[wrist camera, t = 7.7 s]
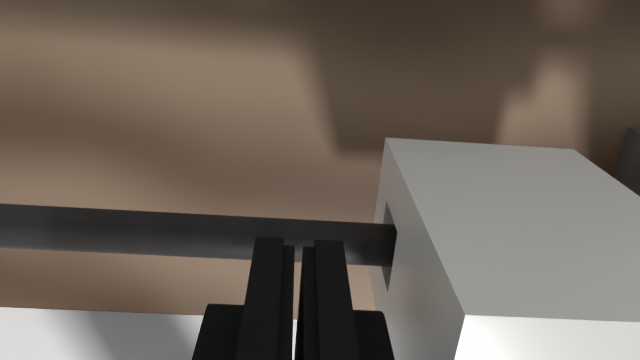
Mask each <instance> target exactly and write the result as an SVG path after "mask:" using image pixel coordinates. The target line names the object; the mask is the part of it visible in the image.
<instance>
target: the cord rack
mask: <svg viewBox="0 0 640 360" xmlns="http://www.w3.org/2000/svg"><path fill="white" fill-rule="evenodd" d="M385 137H386V138H402V139H418V140H434V141H450V142H466V143H481V144H497V145H513V146H529V147H545V148H561V149H574V150H575V151H577V152H578V153H580V154H581V155H582V156H584V157H585V158H587V159H588V160H589V161H591V162H592V163H594V164H595V165H596V166H598V167H599V168H601V169H602V170H603V171H605V172H606V173H608V174H609V175H610V176H612V177H613V178H615V179H616V180H617V181H619V182H620V183H622V184H623V185H624V186H626V187H627V188H629V189H630V190H631V191H633V192H634V193H636V194H637V195H638V196H640V0H0V307H14V308H38V309H62V310H86V311H110V312H134V313H158V314H182V315H204V313H205V310H206V307H207V305H208V304H209V303H210V304H233V305H244V302H245V297H246V291H247V285H248V279H249V273H250V267H251V261H252V255H253V249H254V243H255V238H256V236H265V237H284V245H294V246H295V262H294V299H293V319H297V318H298V305H299V292H300V278H301V265H302V252H303V246H314V240H315V239H323V240H342V241H343V243H344V250H345V257H346V264H347V271H348V278H349V285H350V292H351V299H352V306H353V310H371V311H376V307H375V302H374V297H373V292H372V287H371V282H370V277H369V272H368V266H386V267H392V264H393V258H394V251H395V245H396V239H397V230H396V227H395V224H379V223H374V218H375V211H376V203H377V196H378V188H379V181H380V174H381V166H382V159H383V151H384V144H385Z"/></svg>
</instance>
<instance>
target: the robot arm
mask: <svg viewBox="0 0 640 360" xmlns="http://www.w3.org/2000/svg"><path fill="white" fill-rule="evenodd" d="M294 262H295V246H294V245H284V237H265V236H256V238H255V243H254V249H253V255H252V261H251V267H250V273H249V279H248V285H247V291H246V297H245V302H244V305H233V304H210V303H209V304H208V305H207V307H206V310H205V313H204V317H203V321H202V324H201V328H200V332H199V335H198V339H197V343H196V346H195V350H194V353H193V357H192V360H292V336H293V299H294ZM295 360H395V358H394V354H393V350H392V345H391V341H390V337H389V332H388V328H387V323H386V319H385V316H384V313H383V312H382V311H371V310H353V306H352V299H351V292H350V285H349V278H348V271H347V264H346V257H345V250H344V243H343V241H342V240H323V239H315V240H314V246H303V252H302V265H301V278H300V292H299V305H298V318H297V332H296V345H295Z"/></svg>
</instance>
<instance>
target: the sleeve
mask: <svg viewBox="0 0 640 360" xmlns="http://www.w3.org/2000/svg"><path fill="white" fill-rule="evenodd" d="M374 223H379V224H395V227H396V230H397V239H396V245H395V251H394V258H393V264H392V267H386V266H368V272H369V277H370V282H371V287H372V292H373V297H374V302H375V307H376V311H382V312H383V313H384V316H385V319H386V323H387V328H388V332H389V337H390V341H391V345H392V350H393V354H394V358H395V360H640V196H638V195H637V194H636V193H634V192H633V191H631V190H630V189H629V188H627V187H626V186H624V185H623V184H622V183H620V182H619V181H617V180H616V179H615V178H613V177H612V176H610V175H609V174H608V173H606V172H605V171H603V170H602V169H601V168H599V167H598V166H596V165H595V164H594V163H592V162H591V161H589V160H588V159H587V158H585V157H584V156H582V155H581V154H580V153H578V152H577V151H575V150H574V149H561V148H545V147H529V146H513V145H497V144H481V143H466V142H450V141H434V140H418V139H402V138H386V137H385V144H384V151H383V159H382V166H381V174H380V181H379V188H378V196H377V203H376V211H375V218H374Z"/></svg>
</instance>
